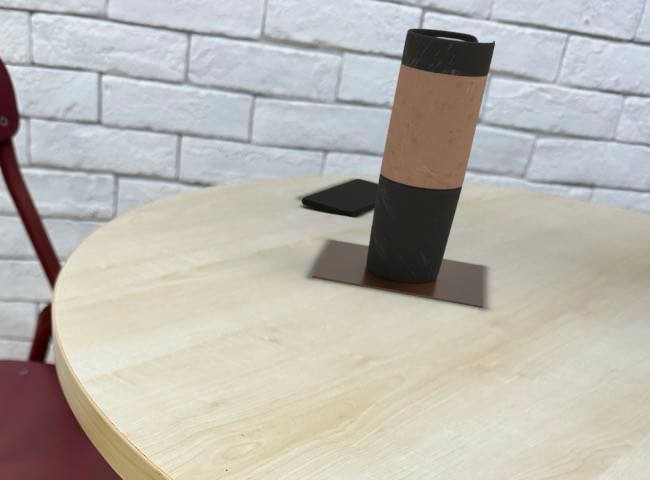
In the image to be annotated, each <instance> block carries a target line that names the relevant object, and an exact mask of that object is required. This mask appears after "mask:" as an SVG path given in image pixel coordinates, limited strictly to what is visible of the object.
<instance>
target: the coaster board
mask: <svg viewBox="0 0 650 480" xmlns="http://www.w3.org/2000/svg"><path fill="white" fill-rule="evenodd" d="M368 248H369V245H363V244H357V243H350V242H345V241H338V240H335V239H334V240H333V239H330V241H329V243H328V244H327V247H326V248H325V250H324V252H323V254H322V256H321V258H320V259H319V262H318V263H317V266H316V268H315V269H314V272H313V273H312V276H311V278H312V279H318V280H323V281H330V282H336V283H341V284H346V285H352V286H358V287H361V288H362V287H363V288H368V289H375V290H381V291H385V292H391V293H397V294H402V295H408V296H414V297H419V298H426V299H430V300H437V301H441V302H442V301H443V302H447V303H453V304H458V305H465V306H470V307H475V308H481V309H483V308H484V271H485V270H484V269H485V268H484V267H485V266H483V265H479V264H473V263H467V262H462V261H455V260H450V259H444V258H443V260H442V264H441V267H440V271H439V274H438V276H437V278H436V279H435V280H433V281H431V282H426V283H405V282H398V281H394V280H390V279H386V278H383V277H380V276H378V275H376V274H374V273H372V272H371V271H370V270H369V269H368V268H367V265H366V263H367V255H368Z"/></svg>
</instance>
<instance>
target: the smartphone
mask: <svg viewBox="0 0 650 480" xmlns="http://www.w3.org/2000/svg"><path fill="white" fill-rule="evenodd" d="M377 189H378V183H375V182H372V181H369V180H365V179H362V178H361V179H360V178H355V179H353V180H350V181H347V182H344V183H341V184H338V185H335V186H332V187H330V188H327V189H323V190H320V191H317V192H314V193H312V194H309V195H307V196H306V195H305V196H303V197H302V198H301V204H302V205H303V206H305V207H309V208H313V209H316V210H319V211H323V212H325V213H328V214H333V215H336V216H340V217H342V216H343V217H348V218H354V217H357V216H359V215H361V214H363V213H366V212H368V211H371V210H374V208H375V202H376V195H377Z"/></svg>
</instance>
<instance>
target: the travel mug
mask: <svg viewBox="0 0 650 480" xmlns="http://www.w3.org/2000/svg"><path fill="white" fill-rule="evenodd" d="M495 47H496V41H495V40H493V41H492V42H480V41H479V39H478V37H476V36H475V35H473V34H469V33H464V32H459V31H458V32H457V31H450V30H444V29H443V30H442V29H435V28H434V29H432V28H409V29H408V30H407V31H406V36H405V40H404V45H403V50H402V54H401V62H400V66H399V71H398V75H397V76H398V77H397V82H396V87H395V93H394V98H393V102H392V106H391V107H392V108H391V113H390V118H389V123H388V129H387V134H386V140H385V144H384V148H383V154H382V158H381V159H382V160H381V164H380V170H379V172H380V173H379V176H378V183H377V184H378V189H377V195H376V202H375V208H374V209H373V215H372V222H371V227H370V228H371V229H370V234H369V242H368V246H369V248H368V255H367V263H366V265H367V268H368V269H369V270H370V271H371V272H372V273H374V274H376V275H378V276H380V277H383V278H386V279H390V280H394V281H398V282H405V283H426V282H431V281H433V280H435V279H436V278H437V276H438V274H439V271H440V267H441V264H442V260H443V259H444V256H445V252H446V249H447V245H448V241H449V237H450V234H451V231H452V226H453V224H454V223H453V222H454V219H455V215H456V213H457V208H458V204H459V200H460V197H461V193H462V189H463V185H464V182H465V177H466V173H467V170H468V164H469V160H470V155H471V152H472V147H473V143H474V139H475V134H476V130H477V125H478V122H479V116H480V112H481V107H482V103H483V99H484V95H485V91H486V86H487V81H488V77H489V73H490V68H491V64H492V60H493V55H494V51H495Z"/></svg>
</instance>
